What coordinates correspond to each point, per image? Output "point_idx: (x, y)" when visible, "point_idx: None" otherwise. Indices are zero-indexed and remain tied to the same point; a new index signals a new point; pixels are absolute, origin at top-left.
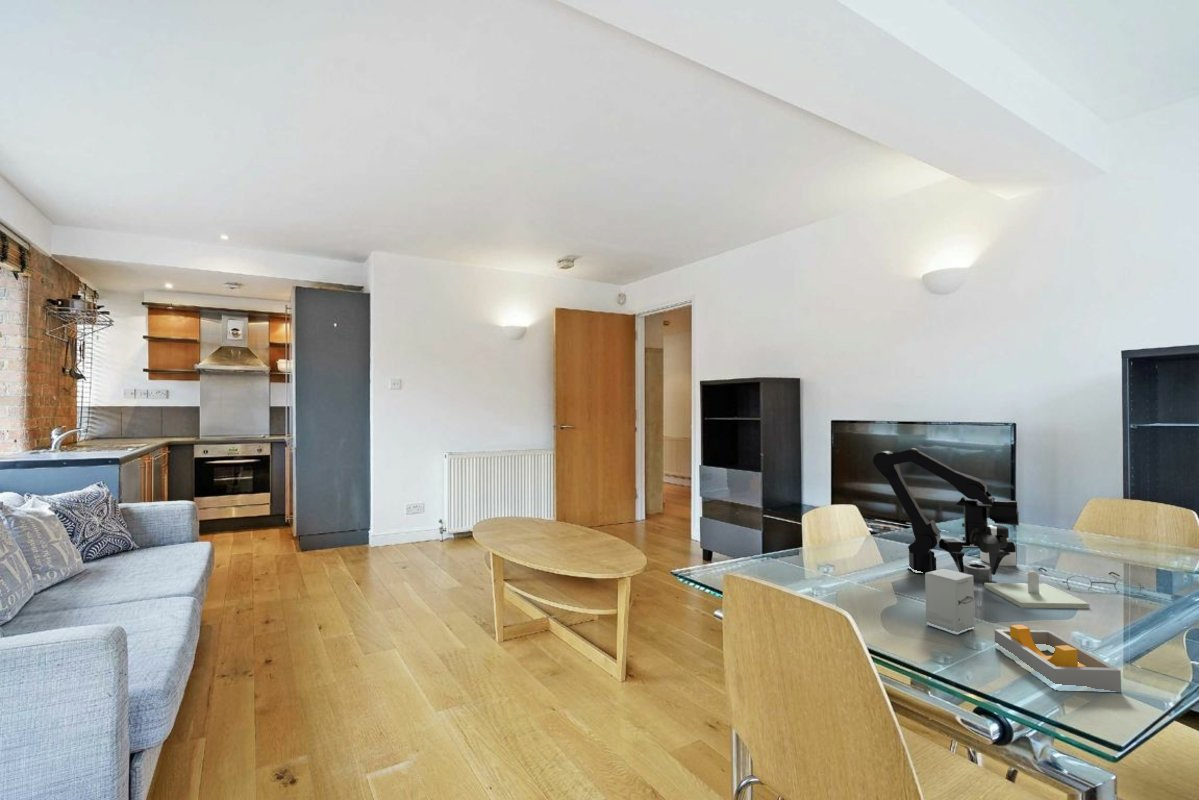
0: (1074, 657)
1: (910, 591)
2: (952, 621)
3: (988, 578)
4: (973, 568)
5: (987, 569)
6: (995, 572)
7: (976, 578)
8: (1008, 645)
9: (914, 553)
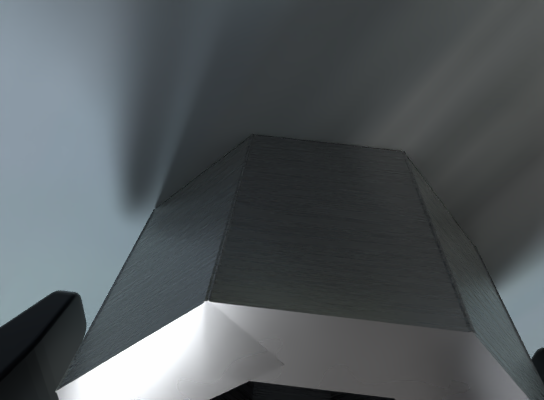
0: None
1: None
2: None
3: (248, 171)
4: (522, 395)
5: (234, 300)
6: (28, 312)
7: (436, 214)
8: None
9: None
